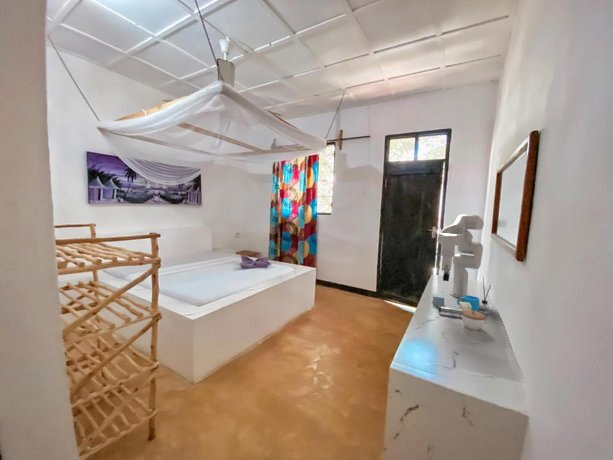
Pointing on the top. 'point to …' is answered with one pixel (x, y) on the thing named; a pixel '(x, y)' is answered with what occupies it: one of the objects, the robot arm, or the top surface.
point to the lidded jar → (473, 319)
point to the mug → (471, 302)
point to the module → (438, 300)
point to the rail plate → (450, 314)
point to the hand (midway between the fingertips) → (446, 279)
